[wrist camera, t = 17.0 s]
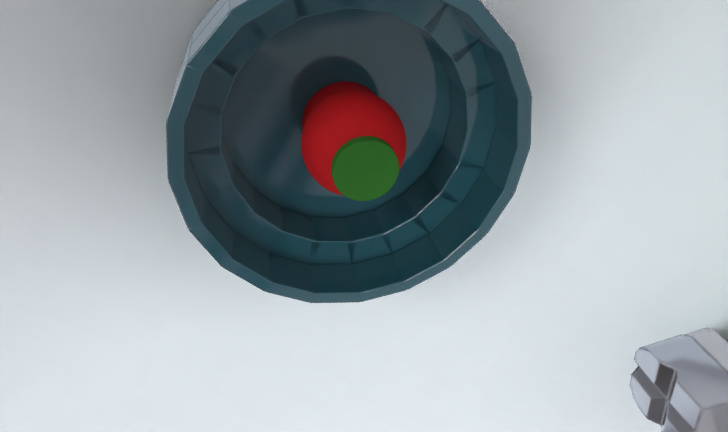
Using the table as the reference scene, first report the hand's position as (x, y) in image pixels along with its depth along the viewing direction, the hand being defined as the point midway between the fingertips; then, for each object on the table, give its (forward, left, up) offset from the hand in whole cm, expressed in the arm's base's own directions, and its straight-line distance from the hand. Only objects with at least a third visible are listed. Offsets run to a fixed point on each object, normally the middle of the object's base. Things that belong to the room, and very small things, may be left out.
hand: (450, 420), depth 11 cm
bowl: (+1, 0, -17) cm, 17 cm away
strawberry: (+1, 0, -16) cm, 16 cm away
